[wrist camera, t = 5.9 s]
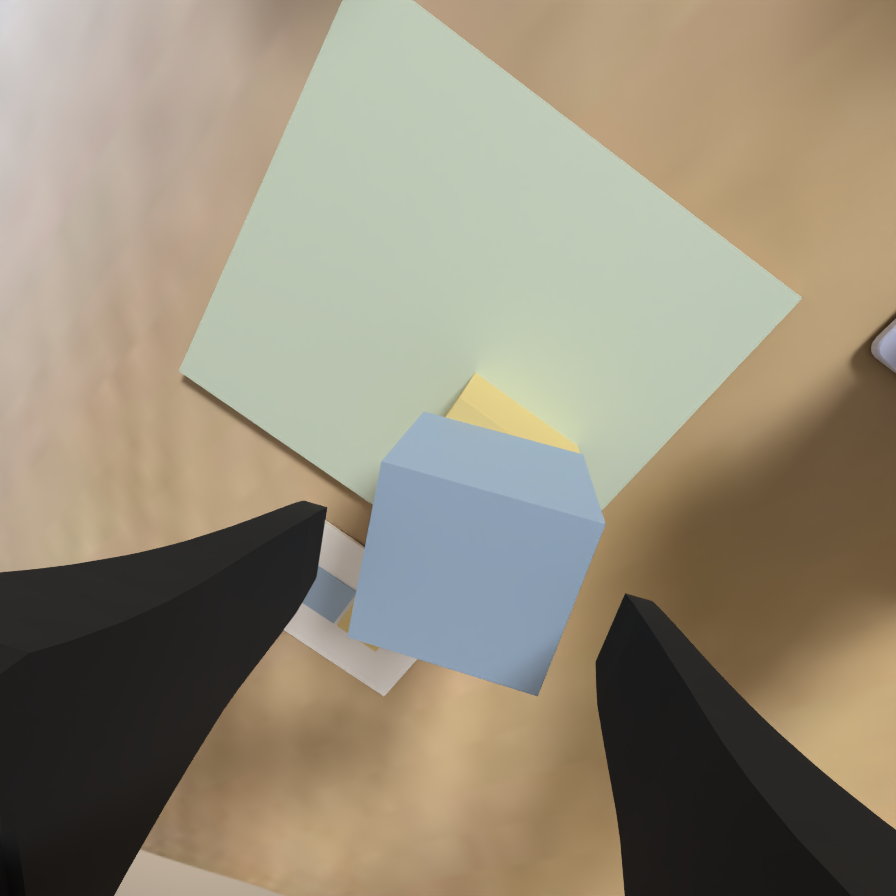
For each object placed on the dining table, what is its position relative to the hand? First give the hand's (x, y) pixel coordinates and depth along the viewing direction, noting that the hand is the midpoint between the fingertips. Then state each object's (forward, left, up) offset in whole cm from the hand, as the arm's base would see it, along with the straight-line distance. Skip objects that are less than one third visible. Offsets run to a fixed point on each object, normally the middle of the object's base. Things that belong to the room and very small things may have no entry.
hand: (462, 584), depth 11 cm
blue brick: (0, 0, -5) cm, 4 cm away
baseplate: (+4, -3, -10) cm, 11 cm away
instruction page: (+1, +11, -10) cm, 15 cm away
